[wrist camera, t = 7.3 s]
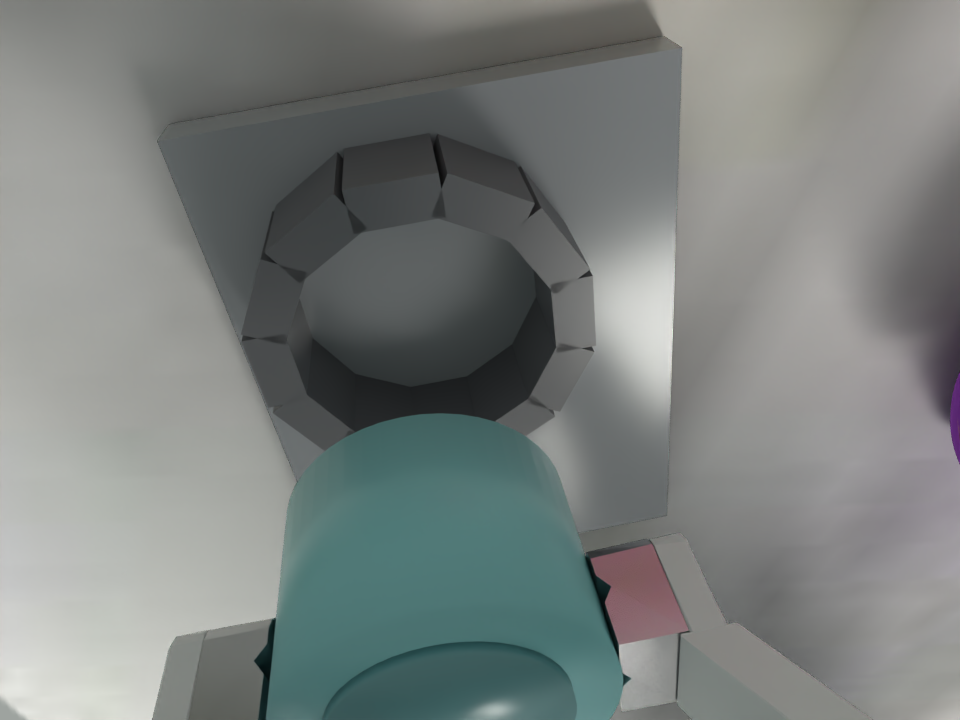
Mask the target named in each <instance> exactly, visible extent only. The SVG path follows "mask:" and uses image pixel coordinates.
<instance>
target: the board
mask: <svg viewBox="0 0 960 720" xmlns="http://www.w3.org/2000/svg"><path fill="white" fill-rule="evenodd" d="M681 64H682V47H680V46H679V45H677V44H676V43H674V42H672V41H671V40H669V39H668V38H666V37H664V36H663V37H657V38H652V39H646V40H640V41H635V42H629V43H623V44H618V45H612V46H607V47H601V48H595V49H590V50H584V51H578V52H573V53H567V54H562V55H556V56H550V57H545V58H539V59H533V60H528V61H522V62H517V63H511V64H505V65H500V66H494V67H488V68H483V69H477V70H472V71H466V72H460V73H455V74H449V75H443V76H438V77H432V78H426V79H421V80H415V81H410V82H404V83H398V84H393V85H387V86H381V87H376V88H370V89H365V90H359V91H353V92H348V93H342V94H336V95H331V96H325V97H320V98H314V99H308V100H303V101H297V102H291V103H286V104H280V105H275V106H269V107H263V108H258V109H252V110H246V111H241V112H235V113H230V114H224V115H218V116H213V117H207V118H201V119H196V120H190V121H184V122H179V123H173V124H169V125H168V126H167V128H166V129H165V131H164V132H163V133H162V135H161V136H160V138H159V139H158V140H157V142H158V145H159V147H160V149H161V152H162V154H163V157H164V159H165V162H166V164H167V166H168V169H169V171H170V174H171V176H172V179H173V181H174V183H175V186H176V188H177V191H178V193H179V196H180V198H181V200H182V203H183V205H184V208H185V210H186V213H187V215H188V217H189V220H190V222H191V225H192V227H193V230H194V232H195V235H196V237H197V239H198V242H199V244H200V247H201V249H202V252H203V254H204V256H205V259H206V261H207V264H208V266H209V269H210V271H211V273H212V276H213V278H214V281H215V283H216V286H217V288H218V290H219V293H220V295H221V298H222V300H223V303H224V305H225V307H226V310H227V312H228V315H229V317H230V320H231V322H232V324H233V327H234V329H235V332H236V334H237V337H238V339H239V342H240V344H241V346H242V349H243V351H244V354H245V356H246V359H247V361H248V363H249V366H250V368H251V371H252V373H253V376H254V378H255V380H256V383H257V385H258V388H259V390H260V393H261V395H262V397H263V400H264V402H265V405H266V407H267V410H268V412H269V414H270V417H271V419H272V422H273V424H274V427H275V429H276V431H277V434H278V436H279V439H280V441H281V444H282V446H283V449H284V451H285V453H286V456H287V458H288V461H289V463H290V466H291V468H292V470H293V473H294V475H295V478H296V480H297V482H298V481H299V479H300V478H301V476H302V475H303V473H304V472H305V470H306V469H307V468H308V467H309V466H310V465H311V464H312V463H313V462H314V460H315V459H316V458H318V457H319V456H320V455H321V454H322V453H324V452H325V451H324V450H322V449H321V448H320V447H318V446H317V445H316V444H314V443H313V442H312V441H310V440H309V439H307V438H306V437H305V436H303V435H302V434H301V433H299V432H298V431H296V430H295V429H294V428H292V427H291V426H290V425H288V424H287V423H286V422H284V421H283V420H281V419H280V418H279V417H277V416H276V415H275V414H273V408H274V407H270V408H268V406H267V403H266V401H265V398H264V396H263V393H262V391H261V389H260V386H259V384H258V381H257V379H256V376H255V374H254V371H253V369H252V367H251V364H250V362H249V359H248V357H247V354H246V352H245V349H244V347H243V345H242V342H241V341H242V337H243V335H241V332H242V328H243V324H244V320H245V316H246V312H247V308H248V304H249V300H250V296H251V292H252V288H253V284H254V280H255V276H256V272H257V268H258V264H259V261H260V257H261V253H262V249H263V245H264V241H265V238H266V234H267V230H268V226H269V222H270V218H271V214H272V211H273V212H275V208H276V205H277V204H278V203H279V202H280V201H281V200H283V199H284V198H285V197H286V196H287V195H288V194H289V193H291V192H292V191H293V190H294V189H295V188H296V187H297V186H299V185H300V184H301V183H302V182H303V181H304V180H305V179H307V178H308V177H309V176H310V175H311V174H312V173H313V172H315V171H316V170H317V169H318V168H319V167H320V166H321V165H323V164H324V163H325V162H326V161H327V160H328V159H329V158H331V157H332V156H333V155H334V154H335V153H336V152H338V153H339V154H340V155H341V157H342V158H343V159H344V148H349V147H355V146H360V145H366V144H372V143H377V142H383V141H388V140H394V139H399V138H405V137H410V136H416V135H422V134H427V133H429V134H430V138H431V143H432V147H433V144H434V142H435V139H436V136H437V134H439V135H442V136H445V137H448V138H451V139H453V140H456V141H459V142H462V143H464V144H467V145H470V146H473V147H475V148H478V149H481V150H484V151H487V152H489V153H492V154H495V155H498V156H500V157H503V158H506V159H509V160H511V161H514V162H515V163H516V165H517V167H518V168H519V167H520V166H521V167H522V168H523V169H524V171H525V172H526V173H527V175H528V176H529V177H530V178H531V180H532V181H533V182H534V183H535V185H536V186H537V187H538V189H539V190H540V191H541V192H542V194H543V195H544V196H545V198H546V199H547V200H548V201H549V203H550V204H551V205H552V207H553V208H554V209H555V210H556V212H557V213H558V214H559V215H560V217H561V218H562V219H563V221H564V222H565V223H566V225H567V227H568V229H569V231H570V232H571V234H572V236H573V238H574V240H575V242H576V244H577V245H578V247H579V249H580V251H581V253H582V255H583V256H584V258H585V260H586V262H587V264H588V266H589V268H590V272H591V273H592V275H593V289H594V311H595V333H596V346H592V348H593V350H594V354H593V355H592V357H591V359H590V361H589V362H588V364H587V366H586V368H585V369H584V371H583V373H582V374H581V376H580V378H579V380H578V381H577V383H576V385H575V387H574V388H573V390H572V392H571V393H570V395H569V397H568V399H567V400H566V402H565V404H564V406H563V407H562V409H561V411H560V412H559V411H555V410H553V411H554V414H555V417H554V418H552V419H551V420H549V421H548V422H546V423H545V424H543V425H542V426H540V427H539V428H537V429H536V430H534V431H533V432H531V433H530V434H528V435H527V436H526V437H528V438H529V439H530V440H531V441H533V442H534V443H535V444H536V445H538V446H539V447H540V448H541V449H542V450H543V451H544V452H545V454H546V455H547V456H548V457H549V458H550V460H551V461H552V463H553V465H554V466H555V468H556V470H557V472H558V475H559V477H560V480H561V483H562V486H563V489H564V492H565V495H566V498H567V501H568V504H569V507H570V510H571V513H572V516H573V520H574V523H575V526H576V529H577V532H578V533H582V532H587V531H592V530H597V529H602V528H607V527H612V526H617V525H623V524H628V523H633V522H638V521H643V520H648V519H653V518H658V517H663V516H667V499H668V468H669V437H670V406H671V375H672V344H673V313H674V282H675V251H676V219H677V188H678V157H679V126H680V95H681ZM535 298H536V289H535V279H534V270H533V268H532V267H531V266H530V265H529V264H528V263H527V261H526V260H525V259H524V258H523V257H522V256H521V254H520V253H519V252H518V251H517V250H516V249H515V247H514V246H513V245H512V244H511V243H510V242H509V241H507V240H504V239H501V238H497V237H494V236H491V235H488V234H485V233H482V232H479V231H476V230H472V229H469V228H466V227H463V226H460V225H457V224H454V223H451V222H447V221H444V220H441V219H434V220H428V221H423V222H418V223H412V224H407V225H401V226H396V227H390V228H385V229H379V230H374V231H368V232H363V233H361V234H359V235H358V236H357V237H356V238H354V239H353V240H352V241H351V242H350V243H348V244H347V245H346V246H345V247H343V248H342V249H341V250H340V251H339V252H337V253H336V254H335V255H334V256H333V257H331V258H330V259H329V260H328V261H326V262H325V263H324V264H323V265H322V266H320V267H319V268H318V269H317V270H315V271H314V272H313V273H312V274H311V275H309V276H308V277H307V278H306V279H305V281H304V284H303V288H302V291H301V294H300V298H299V299H300V302H301V305H302V308H303V311H304V314H305V317H306V320H307V323H308V325H309V328H310V331H311V334H312V337H313V339H314V340H316V341H317V342H318V343H319V344H320V345H322V346H323V347H324V348H325V349H326V350H328V351H329V352H330V353H331V354H332V355H333V356H335V357H336V358H337V359H338V360H339V361H341V362H342V363H343V364H344V365H345V366H347V367H348V368H349V369H350V370H351V371H353V372H354V373H355V374H358V375H362V376H367V377H371V378H375V379H379V380H384V381H388V382H392V383H396V384H400V385H405V386H409V387H413V386H419V385H424V384H429V383H434V382H440V381H445V380H450V379H455V378H461V377H466V376H468V375H469V374H471V373H472V372H474V371H475V370H477V369H478V368H479V367H481V366H482V365H484V364H485V363H486V362H488V361H489V360H491V359H492V358H493V357H495V356H496V355H498V354H499V353H501V352H502V351H503V350H505V349H506V348H508V347H509V346H510V345H512V344H513V342H514V340H515V338H516V336H517V334H518V332H519V330H520V328H521V326H522V324H523V322H524V320H525V318H526V316H527V314H528V312H529V310H530V308H531V306H532V304H533V302H534V300H535Z"/></svg>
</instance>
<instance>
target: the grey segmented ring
mask: <svg viewBox="0 0 960 720" xmlns="http://www.w3.org/2000/svg"><path fill="white" fill-rule="evenodd" d="M434 219H441V220H444V221H447V222H451V223H454V224H457V225H460V226H463V227H466V228H469V229H472V230H476V231H479V232H482V233H485V234H488V235H491V236H494V237H497V238H501V239H504V240H507V241H509V242H510V243H511V244H512V245H513V246H514V247H515V249H516V250H517V251H518V252H519V253H520V254H521V256H522V257H523V258H524V259H525V260H526V261H527V263H528V264H529V265H530V266H531V267H532V268H533V270H534V279H535V289H536V298H535V300H534V302H533V304H532V306H531V308H530V310H529V312H528V314H527V316H526V318H525V320H524V322H523V324H522V326H521V328H520V330H519V332H518V334H517V336H516V338H515V340H514V342H513V344H512V345H510V346H509V347H508V348H506V349H505V350H503V351H502V352H501V353H499V354H498V355H496V356H495V357H493V358H492V359H491V360H489V361H488V362H486V363H485V364H484V365H482V366H481V367H479V368H478V369H477V370H475V371H474V372H472V373H471V374H469V375H468V376H466V377H461V378H455V379H450V380H445V381H440V382H434V383H429V384H424V385H419V386H413V387H409V386H405V385H400V384H396V383H392V382H388V381H384V380H379V379H375V378H371V377H367V376H362V375H358V374H355V373H354V372H353V371H351V370H350V369H349V368H348V367H347V366H345V365H344V364H343V363H342V362H341V361H339V360H338V359H337V358H336V357H335V356H333V355H332V354H331V353H330V352H329V351H328V350H326V349H325V348H324V347H323V346H322V345H320V344H319V343H318V342H317V341H316V340H314V339H313V337H312V334H311V331H310V328H309V325H308V323H307V320H306V317H305V314H304V311H303V308H302V305H301V302H300V299H299V298H300V294H301V291H302V288H303V284H304V281H305V279H306V278H307V277H308V276H309V275H311V274H312V273H313V272H314V271H315V270H317V269H318V268H319V267H320V266H322V265H323V264H324V263H325V262H326V261H328V260H329V259H330V258H331V257H333V256H334V255H335V254H336V253H337V252H339V251H340V250H341V249H342V248H343V247H345V246H346V245H347V244H348V243H350V242H351V241H352V240H353V239H354V238H356V237H357V236H358V235H359V234H361V233H363V232H368V231H374V230H379V229H385V228H390V227H396V226H401V225H407V224H412V223H418V222H423V221H428V220H434ZM241 335H243V337H242V341H241V342H242V345H243V347H244V349H245V352H246V354H247V357H248V359H249V362H250V364H251V367H252V369H253V371H254V374H255V376H256V379H257V381H258V384H259V386H260V389H261V391H262V393H263V396H264V398H265V401H266V403H267V406H268V408H270V407H274V408H273V414H275V415H276V416H277V417H279V418H280V419H281V420H283V421H284V422H286V423H287V424H288V425H290V426H291V427H292V428H294V429H295V430H296V431H298V432H299V433H301V434H302V435H303V436H305V437H306V438H307V439H309V440H310V441H312V442H313V443H314V444H316V445H317V446H318V447H320V448H321V449H322V450H324V451H326V450H327V449H328V448H330V447H331V446H333V445H334V444H336V443H337V442H339V441H340V440H342V439H344V438H345V437H347V436H349V435H351V434H353V433H355V432H357V431H359V430H361V429H364V428H367V427H369V426H372V425H375V424H377V423H380V422H384V421H388V420H392V419H396V418H400V417H406V416H412V415H419V414H437V413H444V414H461V415H468V416H474V417H480V418H483V419H487V420H491V421H494V422H497V423H500V424H502V425H505V426H507V427H510V428H512V429H514V430H516V431H517V432H519V433H521V434H523V435H524V436H527V435H528V434H530V433H531V432H533V431H534V430H536V429H537V428H539V427H540V426H542V425H543V424H545V423H546V422H548V421H549V420H551V419H552V418H554V417H555V414H554V411H553V410H555V411H559V412H560V411H561V409H562V407H563V406H564V404H565V402H566V400H567V399H568V397H569V395H570V393H571V392H572V390H573V388H574V387H575V385H576V383H577V381H578V380H579V378H580V376H581V374H582V373H583V371H584V369H585V368H586V366H587V364H588V362H589V361H590V359H591V357H592V355H593V354H594V350H593V348H592V346H596V333H595V311H594V289H593V275H592V273H591V272H590V268H589V266H588V264H587V262H586V260H585V258H584V256H583V255H582V253H581V251H580V249H579V247H578V245H577V244H576V242H575V240H574V238H573V236H572V234H571V232H570V231H569V229H568V227H567V225H566V223H565V222H564V221H563V219H562V218H561V217H560V215H559V214H558V213H557V212H556V210H555V209H554V208H553V207H552V205H551V204H550V203H549V201H548V200H547V199H546V198H545V196H544V195H543V194H542V192H541V191H540V190H539V189H538V187H537V186H536V185H535V183H534V182H533V181H532V180H531V178H530V177H529V176H528V175H527V173H526V172H525V171H524V169H523V168H522V167H521V166H520V167H519V168H518V167H517V165H516V163H515V162H514V161H511V160H509V159H506V158H503V157H500V156H498V155H495V154H492V153H489V152H487V151H484V150H481V149H478V148H475V147H473V146H470V145H467V144H464V143H462V142H459V141H456V140H453V139H451V138H448V137H445V136H442V135H439V134H437V136H436V139H435V142H434V144H433V147H432V143H431V138H430V134H429V133H427V134H422V135H416V136H410V137H405V138H399V139H394V140H388V141H383V142H377V143H372V144H366V145H360V146H355V147H349V148H344V159H343V158H342V157H341V155H340V154H339V153H338V152H336V153H335V154H334V155H333V156H332V157H331V158H329V159H328V160H327V161H326V162H325V163H324V164H323V165H321V166H320V167H319V168H318V169H317V170H316V171H315V172H313V173H312V174H311V175H310V176H309V177H308V178H307V179H305V180H304V181H303V182H302V183H301V184H300V185H299V186H297V187H296V188H295V189H294V190H293V191H292V192H291V193H289V194H288V195H287V196H286V197H285V198H284V199H283V200H281V201H280V202H279V203H278V204H277V205H276V208H275V212H273V211H272V214H271V218H270V222H269V226H268V230H267V234H266V238H265V241H264V245H263V249H262V253H261V257H260V261H259V264H258V268H257V272H256V276H255V280H254V284H253V288H252V292H251V296H250V300H249V304H248V308H247V312H246V316H245V320H244V324H243V328H242V332H241Z"/></svg>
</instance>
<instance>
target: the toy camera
mask: <svg viewBox="0 0 960 720" xmlns="http://www.w3.org/2000/svg"><path fill="white" fill-rule="evenodd" d="M950 427H951V436H952V442H953V446H954V450H955V453H956V456H957V459H958V461H959V463H960V372H959V375H958V377H957V380H956V383H955V386H954V390H953V395H952V401H951V411H950Z"/></svg>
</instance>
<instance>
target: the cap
mask: <svg viewBox="0 0 960 720" xmlns="http://www.w3.org/2000/svg"><path fill="white" fill-rule="evenodd" d="M622 691H623V673H622V667H621V664H620V661H619V658H618V655H617V652H616V649H615V646H614V643H613V640H612V637H611V634H610V631H609V628H608V625H607V622H606V618H605V615H604V612H603V609H602V605H601V602H600V599H599V596H598V594H597V591H596V588H595V585H594V582H593V579H592V575H591V572H590V569H589V566H588V563H587V560H586V556H585V553H584V550H583V547H582V544H581V541H580V538H579V535H578V532H577V529H576V526H575V523H574V520H573V516H572V513H571V510H570V507H569V504H568V501H567V498H566V495H565V492H564V489H563V486H562V483H561V480H560V477H559V475H558V472H557V470H556V468H555V466H554V465H553V463H552V461H551V460H550V458H549V457H548V456H547V455H546V454H545V452H544V451H543V450H542V449H541V448H540V447H539V446H538V445H536V444H535V443H534V442H533V441H531V440H530V439H529V438H528V437H526V436H524V435H523V434H521V433H519V432H517V431H516V430H514V429H512V428H510V427H507V426H505V425H502V424H500V423H497V422H494V421H491V420H487V419H483V418H480V417H474V416H468V415H461V414H444V413H437V414H419V415H412V416H406V417H400V418H396V419H392V420H388V421H384V422H380V423H377V424H375V425H372V426H369V427H367V428H364V429H361V430H359V431H357V432H355V433H353V434H351V435H349V436H347V437H345V438H344V439H342V440H340V441H339V442H337V443H336V444H334V445H333V446H331V447H330V448H328V449H327V450H326V451H325V452H324V453H322V454H321V455H320V456H319V457H318V458H316V459H315V460H314V462H313V463H312V464H311V465H310V466H309V467H308V468H307V469H306V470H305V472H304V473H303V475H302V476H301V478H300V479H299V481H298V482H297V484H296V486H295V488H294V490H293V492H292V495H291V497H290V500H289V504H288V509H287V516H286V526H285V535H284V545H283V555H282V565H281V575H280V585H279V595H278V604H277V614H276V624H275V634H274V644H273V654H272V664H271V673H270V683H269V693H268V703H267V713H266V720H609V719H610V718H611V717H612V715H613V713H614V711H615V710H616V708H617V706H618V704H619V701H620V698H621V695H622Z"/></svg>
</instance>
